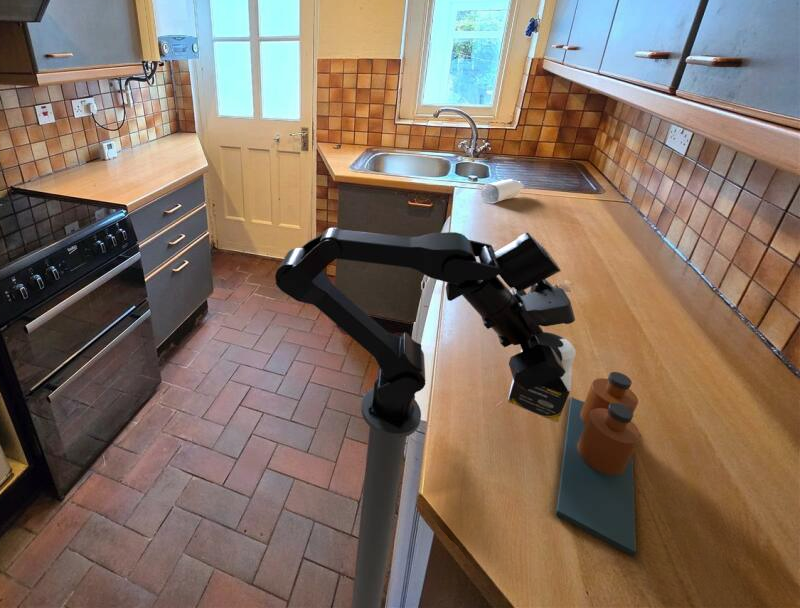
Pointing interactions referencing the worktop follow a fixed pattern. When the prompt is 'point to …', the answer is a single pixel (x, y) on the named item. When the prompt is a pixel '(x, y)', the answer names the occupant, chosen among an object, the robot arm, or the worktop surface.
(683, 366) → the worktop surface
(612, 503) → the tray
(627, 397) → the amber bottle far
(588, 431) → the amber bottle near
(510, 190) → the white bottle
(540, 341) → the medicine bottle
